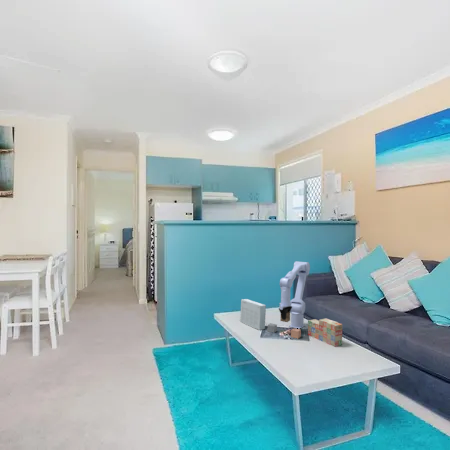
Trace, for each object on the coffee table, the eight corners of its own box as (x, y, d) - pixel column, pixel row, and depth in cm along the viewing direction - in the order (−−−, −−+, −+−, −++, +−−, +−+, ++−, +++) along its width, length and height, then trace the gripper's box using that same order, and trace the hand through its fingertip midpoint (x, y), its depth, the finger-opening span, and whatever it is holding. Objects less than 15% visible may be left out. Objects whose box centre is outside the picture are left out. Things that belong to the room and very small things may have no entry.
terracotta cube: (293, 335, 197) (293, 328, 197) (300, 336, 195) (300, 329, 195) (291, 337, 194) (291, 330, 194) (298, 339, 191) (298, 331, 191)
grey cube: (270, 330, 206) (270, 323, 206) (276, 331, 204) (276, 324, 204) (267, 332, 202) (267, 325, 202) (273, 333, 200) (273, 326, 200)
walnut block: (283, 319, 203) (283, 310, 203) (290, 320, 201) (290, 311, 201) (280, 320, 200) (280, 312, 200) (287, 322, 197) (287, 313, 197)
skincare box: (265, 329, 208) (266, 304, 208) (259, 330, 205) (260, 306, 205) (246, 320, 225) (246, 298, 225) (239, 321, 222) (240, 299, 222)
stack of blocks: (307, 335, 198) (307, 315, 198) (314, 333, 201) (315, 314, 201) (334, 347, 180) (335, 325, 179) (342, 345, 183) (342, 323, 183)
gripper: (284, 294, 208) (284, 314, 208) (275, 298, 196) (274, 320, 196) (294, 295, 204) (294, 316, 205) (285, 299, 192) (285, 322, 192)
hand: (285, 318), depth 200 cm, fingers closed on walnut block, 4 cm apart
